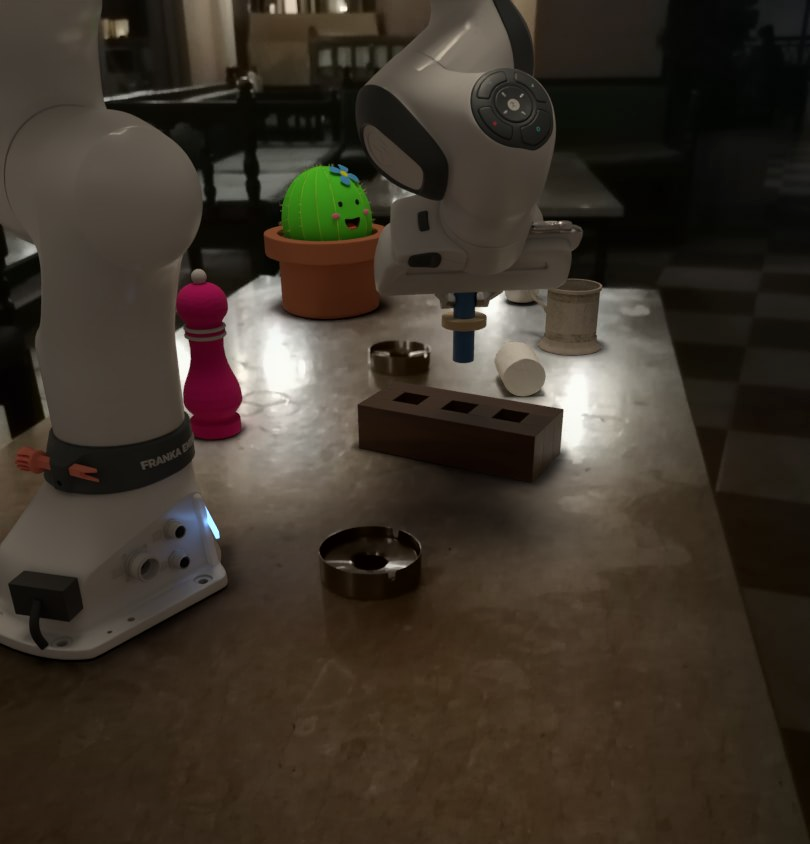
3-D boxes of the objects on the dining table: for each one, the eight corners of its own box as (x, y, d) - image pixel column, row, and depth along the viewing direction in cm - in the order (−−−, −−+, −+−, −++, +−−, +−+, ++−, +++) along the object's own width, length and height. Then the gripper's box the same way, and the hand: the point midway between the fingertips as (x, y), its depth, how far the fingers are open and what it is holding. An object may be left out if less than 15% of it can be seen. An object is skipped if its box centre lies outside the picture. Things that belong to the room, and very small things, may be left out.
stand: (532, 482, 100) (535, 436, 98) (358, 447, 109) (357, 404, 107) (560, 452, 107) (563, 408, 105) (395, 422, 117) (395, 380, 114)
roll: (529, 368, 135) (531, 331, 132) (544, 395, 125) (547, 356, 122) (489, 369, 135) (490, 332, 132) (501, 397, 124) (503, 357, 122)
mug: (613, 346, 145) (621, 269, 139) (574, 359, 139) (581, 279, 133) (543, 328, 154) (548, 255, 148) (504, 339, 148) (507, 264, 142)
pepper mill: (233, 443, 111) (215, 277, 101) (178, 439, 112) (155, 274, 102) (253, 422, 117) (238, 263, 107) (201, 418, 118) (181, 261, 109)
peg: (474, 369, 100) (477, 267, 94) (433, 363, 102) (433, 263, 96) (492, 356, 104) (495, 258, 98) (452, 351, 106) (453, 254, 100)
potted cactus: (248, 306, 168) (235, 161, 156) (343, 287, 181) (337, 152, 169) (316, 331, 154) (307, 173, 142) (414, 308, 166) (414, 161, 154)
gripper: (583, 194, 89) (551, 273, 102) (375, 201, 87) (370, 281, 100) (592, 250, 87) (558, 323, 100) (381, 258, 85) (374, 332, 98)
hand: (463, 302), depth 100 cm, fingers closed on peg, 2 cm apart
